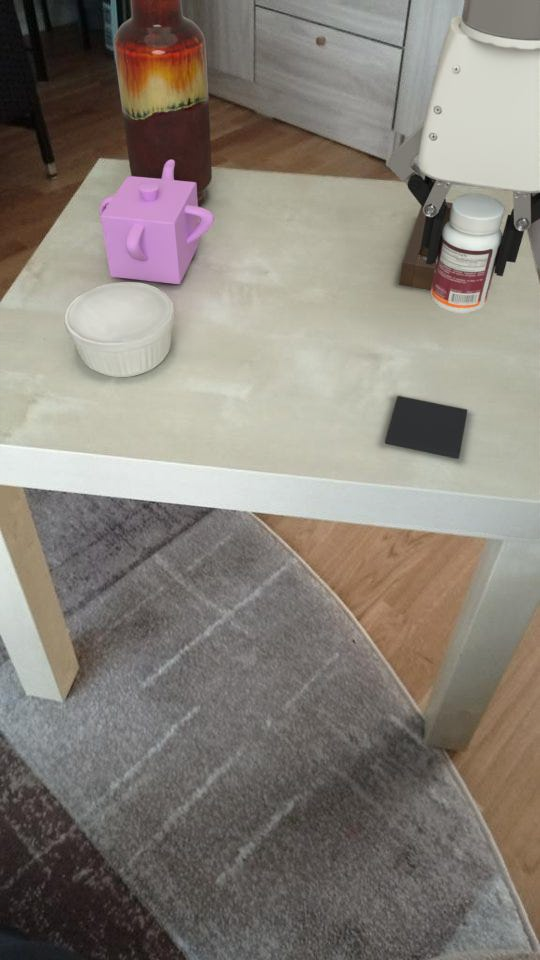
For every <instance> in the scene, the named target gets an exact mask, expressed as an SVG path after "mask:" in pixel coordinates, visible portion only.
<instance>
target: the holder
mask: <svg viewBox="0 0 540 960" xmlns="http://www.w3.org/2000/svg"><path fill="white" fill-rule="evenodd" d="M452 203H453V202H448V201H446V205H448V208H447V213H446V218H445V223H444V226H445V224H446V223H447V222H448V221H449V216H450V211H451V207H452ZM425 219H426V216H425V214H424V213H423V207H422V206H421V205H420V208H419V211H418V214H417V217H416V221H415V223H414V225H413V229H412V232H411V236H410V238H409V242H408V244H407V247H406V250H405V254H404V256H403V260H402V263H401V269H400V275H399V282H398V284H399V285H401V286H407V287H412V288H419V289H423V290H424V289H425V290H429V291H431V288H432V283H433V278H434V272H435V266H436V262H435V263H433V264H432V265H430V264H426V260H427V259H424V258H421V256H426V257H427V255H428V249H426V248H421V242H422V236H423V231H424V225H425Z"/></svg>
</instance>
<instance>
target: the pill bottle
mask: <svg viewBox="0 0 540 960" xmlns="http://www.w3.org/2000/svg"><path fill="white" fill-rule="evenodd" d="M451 203H452V207H451V211H450V216H449V221H448V222H447V223H446V224H445V226H444V227H443V230H442V233H441V239H440V244H439V250H438V255H437V258H436V266H435V272H434V278H433V283H432V288H431V290H430V298H431V300H432V301H433V303H434V304H436V306H438V307H439V308H441V309H442V310H444V311H446V312H450V313H455V314H469V313H470V314H471V313H473V312H476V311H478V310H480V309H482V308H483V307H484V306H485V305H486V303H487V300H488V296H489V293H490V287H491V286H492V285H491V284H492V280H493V277H494V274H495V273H494V271H495V265H496V262H497V258H498V254H499V250H500V247H501V243H502V236H503V232H502V230H501V226H502V224H503V220H504V215H505V211H506V210H505V205H504V204H503V203H502V201H500V200H499V199H497V198H495V197H494V196H493V197H492V196H490V195H486V194H481V193H468V194H467V193H466V194H462V195H460V196H458V197H456V198H455V199H453V200H452V202H451Z"/></svg>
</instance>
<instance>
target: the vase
mask: <svg viewBox="0 0 540 960" xmlns="http://www.w3.org/2000/svg"><path fill="white" fill-rule="evenodd" d="M129 2H130V10H131V17H130V18H129V19H127V20H126V21H124V22H122V24H121V25H120V26H119V28H118V29H117V30H116V33H115V35H114V37H113V50H114V58H115V59H114V60H115V65H116V74H117V81H118V91H119V96H120V104H121V112H122V119H123V127H124V134H125V141H126V148H127V157H128V163H129V170H130V176H134V177H145V178H156V179H161V178H162V173H163V169H164V165H165V163H166V162H167V161H168V160H174V161H175V166H174V180H177V181H187V182H196V185H197V200H198V207H201V206H202V204H203V203H204V202H205V200H206V198H207V194H206V190H205V189H206V188H207V187H208V186H209V185H210V183H211V181H212V176H213V174H212V173H213V171H212V170H213V169H212V144H211V143H212V142H211V125H210V124H211V121H210V102H209V99H210V98H209V84H208V83H209V82H208V81H209V80H208V63H207V48H206V38H205V34H204V33H203V32H202V30H201V28H200V27H199V26H198V24H196V23H195V22H194V21H192V20H191V19H189V18H188V17H185V16H184V14H183V6H182V5H183V4H182V3H183V2H182V0H130V1H129Z"/></svg>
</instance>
